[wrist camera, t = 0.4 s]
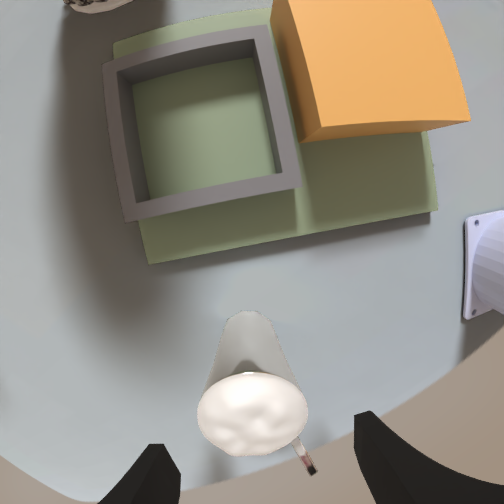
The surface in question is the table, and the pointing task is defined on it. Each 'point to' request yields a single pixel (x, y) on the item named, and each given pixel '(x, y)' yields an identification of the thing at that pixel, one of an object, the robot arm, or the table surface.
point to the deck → (278, 121)
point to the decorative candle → (95, 5)
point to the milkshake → (252, 393)
